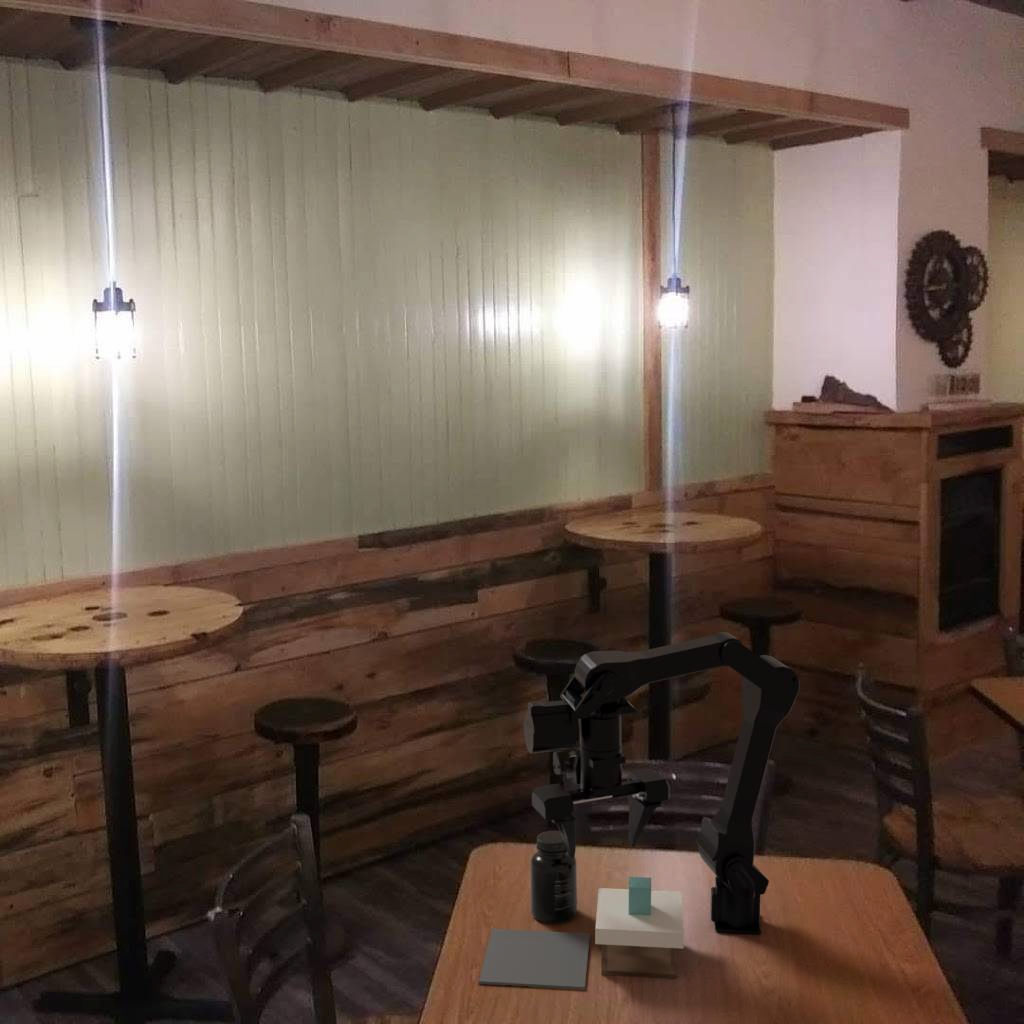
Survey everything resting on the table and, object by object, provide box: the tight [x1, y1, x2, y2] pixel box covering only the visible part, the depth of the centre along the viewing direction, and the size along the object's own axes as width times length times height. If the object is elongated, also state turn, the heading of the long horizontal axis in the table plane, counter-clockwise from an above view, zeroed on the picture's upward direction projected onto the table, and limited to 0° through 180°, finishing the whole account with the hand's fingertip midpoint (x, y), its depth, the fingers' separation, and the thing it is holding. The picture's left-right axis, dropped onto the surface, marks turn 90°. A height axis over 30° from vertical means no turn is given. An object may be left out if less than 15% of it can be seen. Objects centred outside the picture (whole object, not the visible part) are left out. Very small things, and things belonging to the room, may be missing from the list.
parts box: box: [600, 944, 678, 980], centre depth 169 cm, size 10×10×6 cm
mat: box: [478, 928, 591, 991], centre depth 169 cm, size 14×14×1 cm
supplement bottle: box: [529, 830, 578, 925], centre depth 180 cm, size 7×7×12 cm
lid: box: [594, 876, 685, 949], centre depth 168 cm, size 12×12×6 cm
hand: (602, 851), depth 172 cm, fingers open, 9 cm apart
